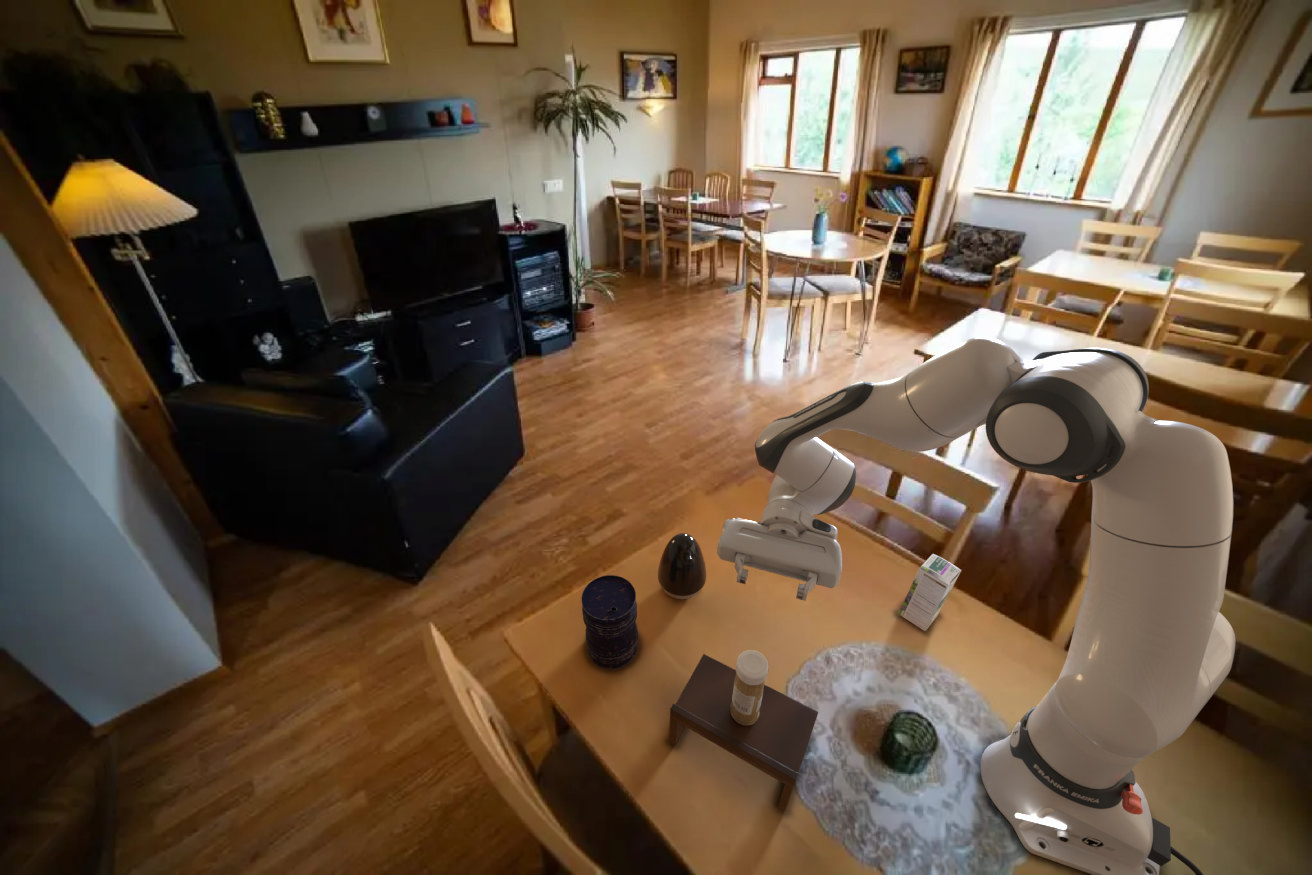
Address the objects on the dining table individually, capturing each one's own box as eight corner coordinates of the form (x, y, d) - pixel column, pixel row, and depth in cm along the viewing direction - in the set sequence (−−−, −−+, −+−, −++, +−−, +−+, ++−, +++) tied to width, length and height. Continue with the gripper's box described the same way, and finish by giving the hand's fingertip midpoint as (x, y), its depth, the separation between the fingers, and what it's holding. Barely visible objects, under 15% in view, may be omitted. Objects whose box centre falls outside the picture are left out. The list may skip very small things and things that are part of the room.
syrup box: (910, 598, 112) (931, 551, 103) (938, 616, 108) (962, 568, 100) (897, 614, 108) (917, 566, 100) (926, 633, 105) (949, 585, 96)
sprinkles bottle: (764, 716, 83) (776, 667, 75) (742, 732, 81) (751, 684, 73) (745, 692, 86) (754, 643, 78) (723, 707, 84) (730, 658, 76)
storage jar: (581, 633, 105) (574, 583, 96) (628, 617, 108) (625, 568, 99) (595, 677, 97) (589, 628, 89) (645, 659, 100) (644, 609, 92)
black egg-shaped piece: (664, 612, 109) (665, 562, 100) (653, 573, 117) (652, 524, 108) (712, 602, 111) (716, 552, 102) (697, 565, 119) (700, 515, 110)
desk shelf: (809, 739, 88) (820, 706, 82) (785, 811, 80) (796, 780, 74) (701, 682, 97) (704, 647, 90) (669, 741, 88) (670, 708, 82)
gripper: (728, 502, 95) (707, 558, 84) (847, 530, 89) (841, 593, 79) (725, 528, 99) (705, 584, 88) (840, 556, 93) (833, 619, 82)
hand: (770, 588), depth 83 cm, fingers open, 8 cm apart
